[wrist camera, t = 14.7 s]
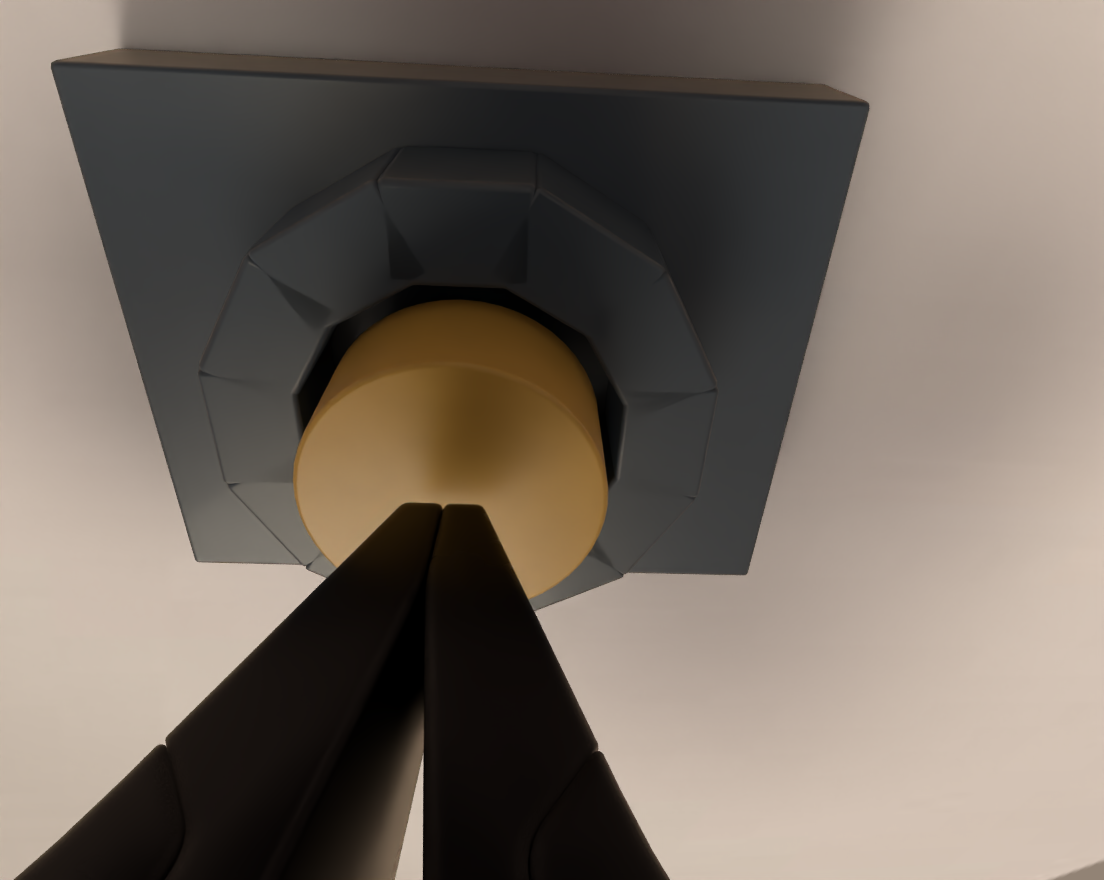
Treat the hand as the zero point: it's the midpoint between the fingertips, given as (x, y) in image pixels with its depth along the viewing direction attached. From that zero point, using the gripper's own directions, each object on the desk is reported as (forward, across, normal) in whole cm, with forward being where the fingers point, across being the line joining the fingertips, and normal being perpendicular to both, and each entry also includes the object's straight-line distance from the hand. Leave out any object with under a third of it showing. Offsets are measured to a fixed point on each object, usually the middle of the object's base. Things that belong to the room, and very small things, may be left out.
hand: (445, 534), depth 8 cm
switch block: (+6, 0, 0) cm, 6 cm away
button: (+2, 0, 0) cm, 2 cm away
